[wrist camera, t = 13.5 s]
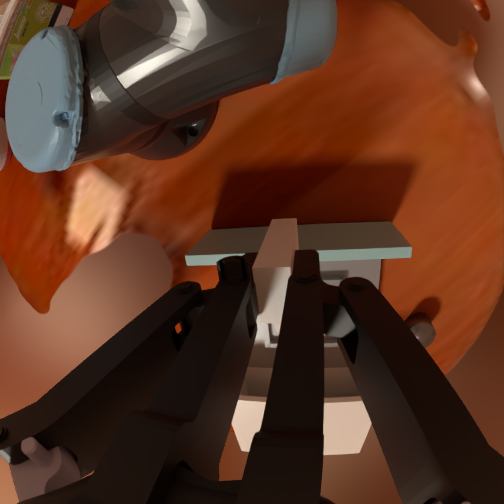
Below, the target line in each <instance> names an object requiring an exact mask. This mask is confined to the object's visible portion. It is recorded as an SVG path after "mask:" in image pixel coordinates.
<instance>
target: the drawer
mask: <svg viewBox="0 0 504 504" xmlns="http://www.w3.org/2000/svg"><path fill="white" fill-rule="evenodd" d="M268 228H269V226H267V227H249V228H233V229H218V230H209V231H208V232H207V233H206V234H205V235H204V236H203V237H202V238H201V239H200V240H199V241H198V242H197V243H196V244H195V246H194V247H193V248H192V249H191V250H190V251H189V252H188V253H187V254H186V255H185V259H186V263H187V266H189V265H217V264H216V262H217V261H218V260H220V259H222V258H224V257H228V256H234V255H239V256H243V255H244V254H245V253H251V252H259V250H260V248H261V245H262V243H263V240H264V238H265V235H266V233H267V231H268ZM297 229H298V244H299V250H308V249H315V250H316V251H317V252H318V253H319V261H320V275H321V279H322V280H323V281H324V282H325V283H327V284H330V285H334V286H339V284H340V282H341V281H342V280H344V279H346V278H349V277H363V278H365V279H368V280H369V281H371V282H372V283H373V284H374V285H375V287H376V288H377V289H379V279H380V268H381V259H391V258H411V252H412V246H411V245H410V244H409V243H408V241H407V240H406V239H405V238H404V237H403V235H402V234H401V233H400V232H399V231H398V230H397V228H396V227H395V226H394V225H393V224H392V223H391V222H356V223H329V224H306V225H297ZM257 329H258V331H257V334H256V338H255V342H254V346H253V349H252V353H251V356H250V360H249V364H248V367H259V368H273V364H274V359H275V354H276V348H277V343H278V337H279V334H278V333H277V331H276V330H275V328H274V324H273V323H259V315H258V317H257ZM339 367H348V366H347V364H346V361H345V359H344V357H343V355H342V352H341V350H340V348H339V346H338V343H337V339H336V337H335V336H330V335H324V368H339Z"/></svg>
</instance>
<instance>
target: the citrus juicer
mask: <svg viewBox="0 0 504 504" xmlns="http://www.w3.org/2000/svg"><path fill="white" fill-rule="evenodd" d="M11 155H12V149H11V146H10V143H9V140H8V135H7V129H6V120H5V118H3V117H0V171H1V170H2V169H3V168H4V167H5V166H6V165H7V164H8V163H9V161H10V159H11Z"/></svg>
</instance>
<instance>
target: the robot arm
mask: <svg viewBox="0 0 504 504" xmlns="http://www.w3.org/2000/svg"><path fill="white" fill-rule="evenodd" d="M110 2H111V3H109V4H108V5H106V6H105V7H104V8H102V9H101V10H100V11H98V12H97V13H96V14H94V15H93V16H92V17H90V18H89V19H88V20H87V21H85V22H84V23H83V24H82V25H80V26H79V27H77V28H75V29H72V28H71V27H69V26H66V25H59V26H57V27H48V28H45V29H43V30H41V31H39V32H38V33H37V34H36V35H35V36H33V37H32V38H31V39H30V41H29V42H28V43H27V44H26V46H25V47H24V49H23V50H22V52H21V53H20V55H19V57H18V59H17V61H16V63H15V66H14V68H13V71H12V74H11V77H10V81H9V85H8V91H7V96H6V106H5V120H6V129H7V135H8V140H9V143H10V146H11V149H12V151H13V153H14V155H15V157H16V158H17V160H18V161H19V162H21V163H22V165H23V166H24V167H25V168H27V169H28V170H30V171H33V172H46V171H51V170H58V171H61V170H65V169H67V168H68V167H69V166H72V165H76V164H80V163H84V162H88V161H92V160H96V159H101V158H105V157H110V156H114V155H119V154H124V153H130V154H133V155H135V156H138V157H140V158H143V159H147V160H166V159H170V158H175V157H178V156H181V155H183V154H185V153H187V152H189V151H190V150H192V149H193V148H195V147H196V146H197V145H198V144H199V143H200V142H201V141H202V140H203V139H204V138H205V136H206V135H207V133H208V132H209V130H210V128H211V126H212V124H213V122H214V119H215V116H216V112H217V106H218V100H220V99H222V98H225V97H228V96H231V95H234V94H237V93H239V92H242V91H245V90H249V89H252V88H255V87H258V86H261V85H265V84H268V83H269V84H271V85H272V84H276V83H278V82H280V80H281V79H283V78H286V77H289V76H292V75H296V74H299V73H303V72H306V71H310V70H313V69H316V68H318V67H320V66H321V65H323V64H324V63H325V62H326V61H327V59H328V58H329V57H330V55H331V52H332V51H333V48H334V46H335V42H336V36H337V5H336V0H110ZM216 264H217V269H218V275H219V280H220V281H219V282H218V284H217V286H216V287H215V288H213V289H208V290H201V286H200V284H199V283H197V282H190V281H186V282H182V283H180V284H178V285H176V286H174V287H173V288H172V289H170V290H169V291H168V292H167V293H165V294H164V295H163V296H162V297H160V298H159V299H158V300H157V301H155V302H154V303H153V304H152V305H151V306H149V307H148V308H147V309H146V310H144V311H143V312H142V313H141V314H140V315H138V316H137V317H136V318H135V319H133V320H132V321H131V322H130V323H128V324H127V325H126V326H125V327H124V328H122V329H121V330H120V331H119V332H118V333H116V334H115V335H114V336H113V337H112V338H110V339H109V340H108V341H107V342H106V343H104V344H103V345H102V346H101V347H100V348H99V349H97V350H96V351H95V352H94V353H92V354H91V355H90V356H89V357H88V358H87V359H85V360H84V361H83V362H82V363H81V364H79V365H78V366H77V367H76V368H75V369H74V370H72V371H71V372H70V373H69V374H68V375H67V376H65V377H64V378H63V379H62V380H61V381H60V382H58V383H57V384H56V385H55V386H54V387H53V388H52V389H50V390H49V391H48V392H47V393H46V394H45V395H44V396H42V397H41V398H40V399H39V400H38V401H37V402H35V403H33V404H31V405H29V406H27V407H25V408H23V409H21V410H19V411H17V412H15V413H13V414H11V415H8V416H6V417H4V418H2V419H0V456H1V457H2V458H3V459H4V460H5V461H6V462H8V464H9V466H10V470H11V474H12V478H13V482H14V486H15V489H16V492H17V496H18V499H19V503H17V504H335V503H333V502H332V501H330V500H329V499H327V498H325V497H322V496H320V492H321V480H322V468H323V453H324V434H323V423H324V334H325V335H330V336H335V337H336V339H337V343H338V346H339V348H340V350H341V352H342V355H343V357H344V359H345V361H346V364H347V366H348V368H349V370H350V373H351V375H352V377H353V380H354V382H355V384H356V387H357V389H358V391H359V394H360V396H361V399H362V401H363V403H364V406H365V408H366V411H367V413H368V416H369V418H370V420H371V423H372V425H373V428H374V430H375V433H376V435H377V438H378V440H379V443H380V446H381V448H382V451H383V453H384V456H385V459H386V461H387V464H388V466H389V469H390V472H391V474H392V477H393V480H394V483H395V486H396V488H397V491H398V494H399V496H400V498H401V501H402V503H403V504H504V457H503V456H502V455H501V454H499V453H498V452H497V451H495V450H494V449H493V448H492V447H491V446H489V444H488V443H487V441H486V439H485V437H484V436H483V434H482V432H481V431H480V429H479V427H478V426H477V424H476V422H475V421H474V419H473V418H472V416H471V415H470V413H469V412H468V410H467V408H466V407H465V405H464V404H463V402H462V400H461V399H460V398H459V396H458V394H457V393H456V392H455V390H454V389H453V387H452V386H451V384H450V383H449V381H448V380H447V379H446V377H445V375H444V374H443V373H442V371H441V370H440V368H439V367H438V366H437V364H436V363H435V362H434V360H433V359H432V357H431V356H430V355H429V353H428V352H427V351H426V349H425V348H424V347H423V345H422V344H421V343H420V341H419V340H418V339H417V337H416V336H415V335H414V334H413V332H412V331H411V330H410V328H409V327H408V326H407V325H406V323H405V322H404V321H403V319H402V318H401V317H400V316H399V314H398V313H397V312H396V311H395V310H394V308H393V307H392V306H391V305H390V303H389V302H388V301H387V300H386V299H385V297H384V296H383V295H382V294H381V293H380V291H379V290H378V289H377V288H376V287H375V285H374V284H373V283H372V282H371V281H369V280H368V279H365V278H363V277H349V278H346V279H344V280H342V281H341V282H340V284H339V286H334V285H330V284H327V283H325V282H324V281H323V280H322V279H321V275H320V261H319V253H318V252H317V251H316V250H315V249H308V250H299V244H298V229H297V218H288V219H272V221H271V223H270V226H269V228H268V231H267V233H266V235H265V238H264V240H263V243H262V245H261V248H260V250H259V252H251V253H245V254H244V255H243V256H239V255H234V256H228V257H224V258H222V259H220V260H218V261H217V262H216ZM258 315H259V323H281V326H280V331H279V337H278V343H277V348H276V354H275V359H274V364H273V370H272V375H271V380H270V385H269V390H268V395H267V400H266V405H265V410H264V414H263V419H262V424H261V427H260V430H259V431H258V432H256V433H255V434H254V436H253V439H252V442H251V446H250V450H249V454H248V458H247V462H246V466H245V470H244V474H243V477H242V480H232V481H219V463H220V459H221V456H222V452H223V449H224V446H225V442H226V440H227V436H228V433H229V430H230V426H231V423H232V420H233V416H234V413H235V409H236V406H237V402H238V399H239V395H240V392H241V389H242V385H243V381H244V378H245V374H246V371H247V367H248V364H249V360H250V356H251V353H252V349H253V346H254V342H255V338H256V334H257V331H258V329H257V317H258ZM178 323H179V324H180V327H181V331H180V332H179V333H178V334H177V332H176V330H175V326H176V325H177V324H178ZM94 470H95V471H94ZM92 471H94V473H93V474H92V475H90V476H87V477H85V478H83V479H82V477H84V476H86V475H88V474H89V473H91V472H92Z"/></svg>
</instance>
